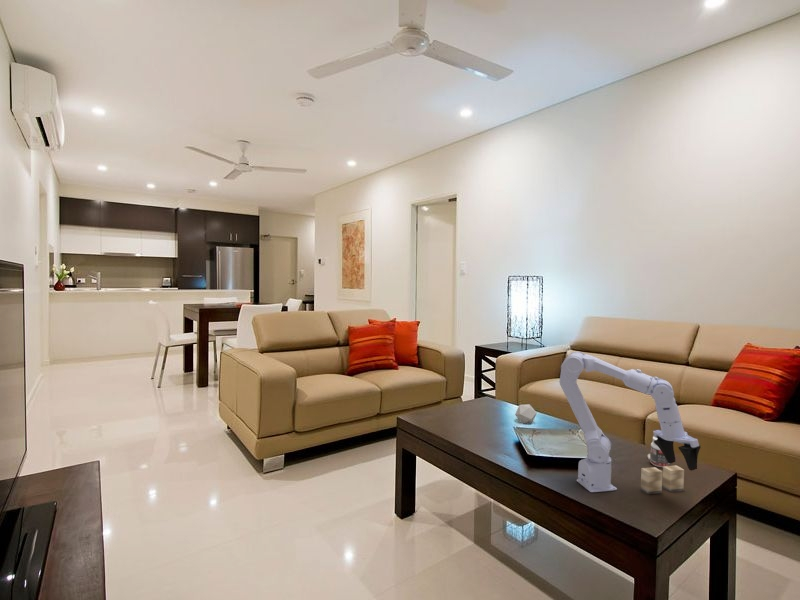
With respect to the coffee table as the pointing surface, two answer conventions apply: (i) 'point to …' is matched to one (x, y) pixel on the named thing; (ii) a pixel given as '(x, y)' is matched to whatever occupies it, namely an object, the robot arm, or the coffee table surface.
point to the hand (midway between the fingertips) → (682, 465)
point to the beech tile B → (673, 478)
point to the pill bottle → (657, 455)
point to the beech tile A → (651, 480)
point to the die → (525, 413)
